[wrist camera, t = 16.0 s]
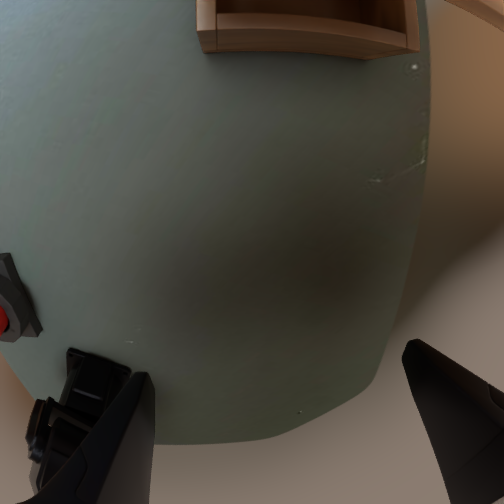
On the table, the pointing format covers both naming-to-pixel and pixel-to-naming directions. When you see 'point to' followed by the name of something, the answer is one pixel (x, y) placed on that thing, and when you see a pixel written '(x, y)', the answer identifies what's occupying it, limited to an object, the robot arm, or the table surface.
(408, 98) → the table surface
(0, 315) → the button
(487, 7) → the box lid
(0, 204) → the table surface
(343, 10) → the wooden box
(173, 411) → the table surface
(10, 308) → the control block
